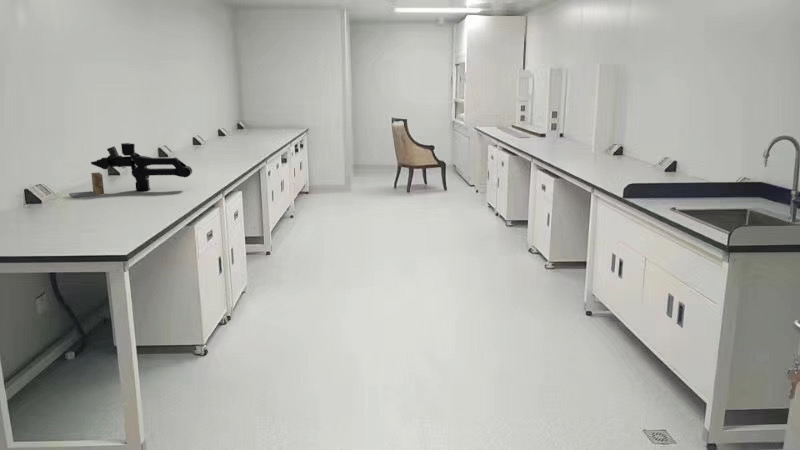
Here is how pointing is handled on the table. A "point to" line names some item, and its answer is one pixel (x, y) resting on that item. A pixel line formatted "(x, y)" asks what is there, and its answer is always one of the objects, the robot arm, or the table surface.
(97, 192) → the walnut block
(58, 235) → the table surface
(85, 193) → the mat
